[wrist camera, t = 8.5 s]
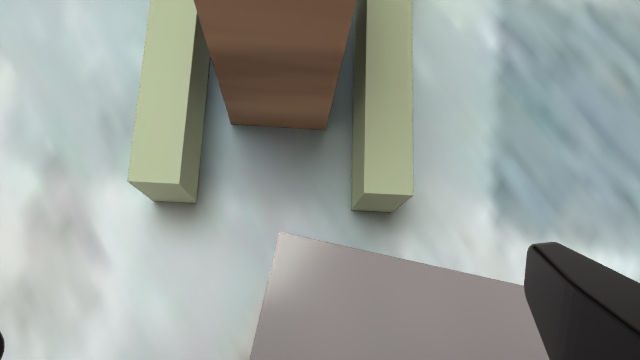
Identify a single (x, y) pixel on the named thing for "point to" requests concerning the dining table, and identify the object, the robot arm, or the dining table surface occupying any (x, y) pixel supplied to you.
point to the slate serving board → (386, 309)
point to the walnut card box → (277, 57)
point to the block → (191, 89)
